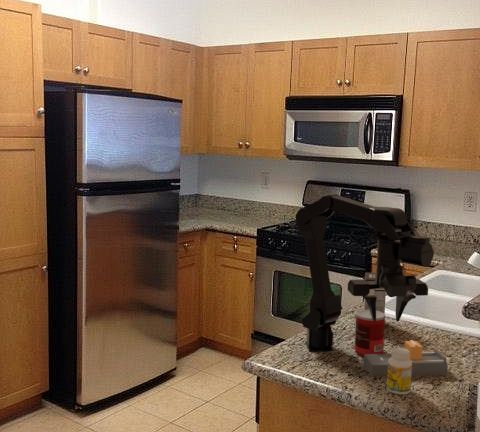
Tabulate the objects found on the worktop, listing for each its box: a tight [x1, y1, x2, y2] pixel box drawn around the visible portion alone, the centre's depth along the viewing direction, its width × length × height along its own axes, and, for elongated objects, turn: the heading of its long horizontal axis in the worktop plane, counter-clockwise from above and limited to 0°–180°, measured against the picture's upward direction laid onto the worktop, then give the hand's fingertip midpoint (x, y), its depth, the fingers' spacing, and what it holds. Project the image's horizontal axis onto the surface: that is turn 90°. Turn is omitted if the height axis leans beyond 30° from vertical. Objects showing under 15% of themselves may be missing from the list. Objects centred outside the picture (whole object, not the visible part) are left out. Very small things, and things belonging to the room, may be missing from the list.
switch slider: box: [404, 339, 423, 360], centre depth 142 cm, size 3×4×4 cm
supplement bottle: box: [386, 347, 412, 396], centre depth 131 cm, size 5×5×10 cm
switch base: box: [363, 348, 448, 378], centre depth 143 cm, size 19×7×4 cm, turn 94°
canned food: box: [354, 309, 386, 358], centre depth 154 cm, size 8×8×11 cm
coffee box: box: [363, 272, 387, 315], centre depth 175 cm, size 9×6×16 cm
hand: (385, 320), depth 141 cm, fingers open, 6 cm apart
